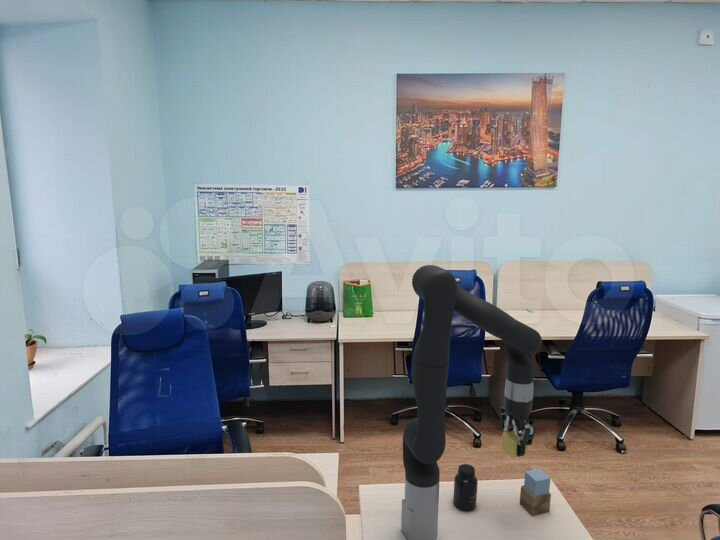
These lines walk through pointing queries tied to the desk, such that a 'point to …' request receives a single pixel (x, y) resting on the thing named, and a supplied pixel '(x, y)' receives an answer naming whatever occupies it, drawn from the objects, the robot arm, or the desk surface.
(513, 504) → the desk surface
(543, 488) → the tower mid
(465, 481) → the supplement bottle
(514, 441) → the top block
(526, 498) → the tower base
